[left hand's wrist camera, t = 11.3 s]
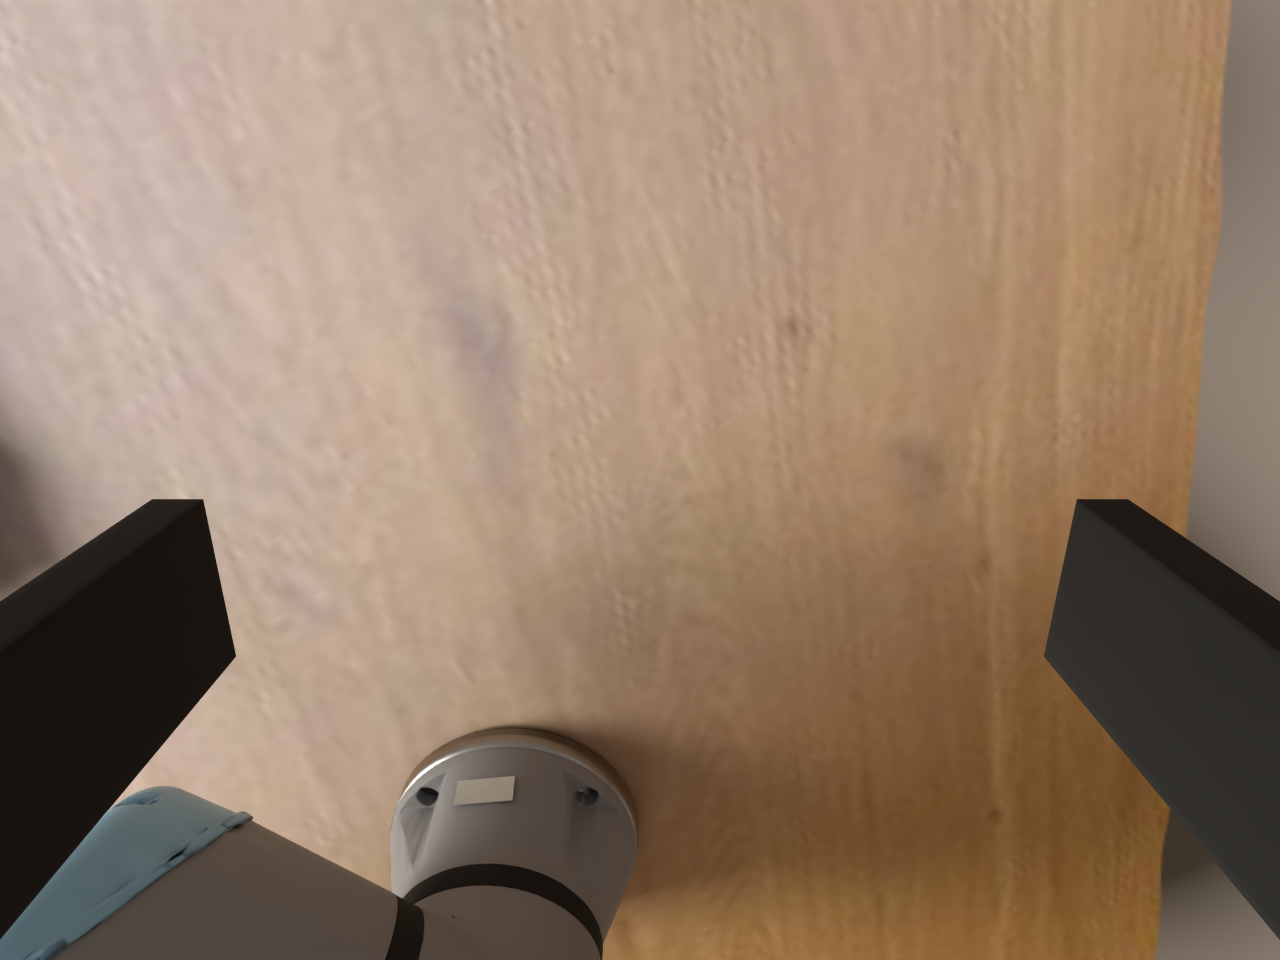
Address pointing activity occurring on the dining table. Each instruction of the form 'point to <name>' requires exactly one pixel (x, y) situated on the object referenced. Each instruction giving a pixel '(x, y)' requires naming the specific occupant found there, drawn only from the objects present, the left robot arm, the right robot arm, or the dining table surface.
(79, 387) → the dining table surface
